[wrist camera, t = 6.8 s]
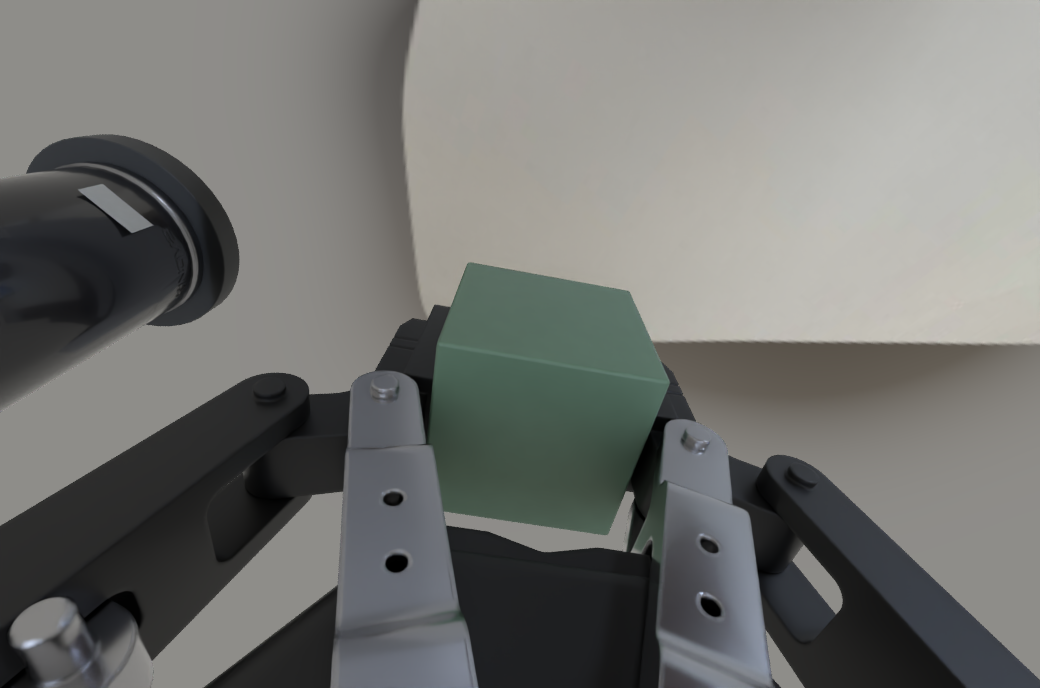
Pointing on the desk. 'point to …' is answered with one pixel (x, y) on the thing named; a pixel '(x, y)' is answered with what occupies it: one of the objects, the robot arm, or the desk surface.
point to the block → (541, 399)
